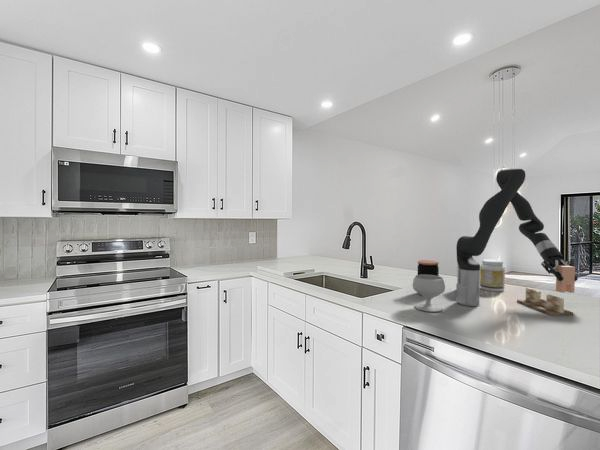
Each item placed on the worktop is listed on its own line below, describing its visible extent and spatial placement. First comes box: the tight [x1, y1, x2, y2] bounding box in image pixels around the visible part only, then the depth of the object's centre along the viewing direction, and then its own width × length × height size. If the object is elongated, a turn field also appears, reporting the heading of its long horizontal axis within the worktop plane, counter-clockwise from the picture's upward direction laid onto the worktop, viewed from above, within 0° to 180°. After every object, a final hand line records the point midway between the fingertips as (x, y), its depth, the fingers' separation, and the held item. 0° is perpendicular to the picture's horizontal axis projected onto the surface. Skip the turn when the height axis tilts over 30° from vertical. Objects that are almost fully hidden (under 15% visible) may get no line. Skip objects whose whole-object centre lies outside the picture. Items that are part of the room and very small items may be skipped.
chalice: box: [412, 274, 446, 313], centre depth 141 cm, size 14×14×15 cm
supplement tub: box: [480, 258, 506, 293], centre depth 176 cm, size 12×12×17 cm
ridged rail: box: [516, 287, 574, 316], centre depth 141 cm, size 20×10×7 cm, turn 1°
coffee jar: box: [417, 259, 440, 296], centre depth 166 cm, size 11×11×18 cm
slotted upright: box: [555, 266, 576, 293], centre depth 141 cm, size 3×6×12 cm, turn 91°
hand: (568, 280), depth 139 cm, fingers closed on slotted upright, 6 cm apart
